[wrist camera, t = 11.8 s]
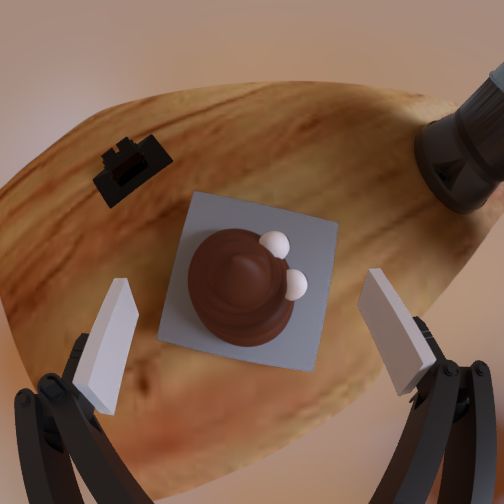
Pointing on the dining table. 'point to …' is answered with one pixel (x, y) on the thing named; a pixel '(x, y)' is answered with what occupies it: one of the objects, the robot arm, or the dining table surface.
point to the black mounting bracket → (129, 168)
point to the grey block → (299, 258)
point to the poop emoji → (244, 285)
